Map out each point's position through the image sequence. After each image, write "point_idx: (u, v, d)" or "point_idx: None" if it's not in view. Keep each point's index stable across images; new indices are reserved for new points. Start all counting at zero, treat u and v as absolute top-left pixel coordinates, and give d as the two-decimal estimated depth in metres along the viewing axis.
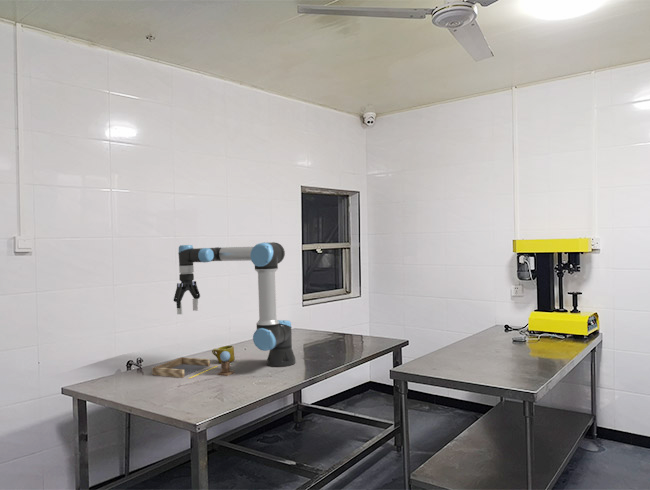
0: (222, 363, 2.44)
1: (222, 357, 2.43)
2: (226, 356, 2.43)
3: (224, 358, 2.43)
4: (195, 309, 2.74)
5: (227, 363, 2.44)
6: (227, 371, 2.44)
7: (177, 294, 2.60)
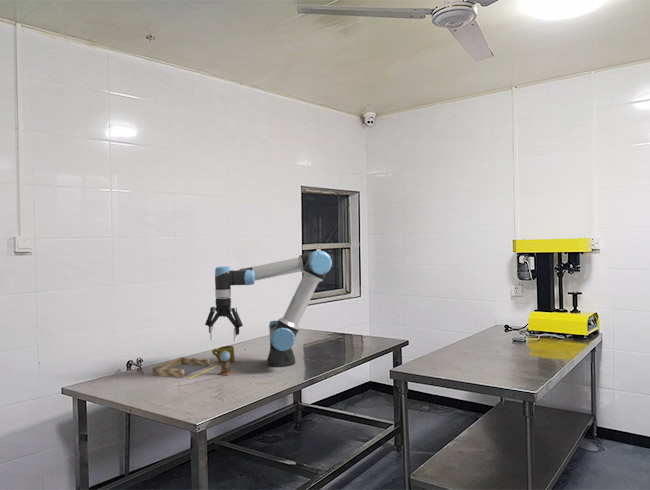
0: (222, 363, 2.44)
1: (222, 357, 2.43)
2: (226, 356, 2.43)
3: (224, 358, 2.43)
4: None
5: (227, 363, 2.44)
6: (227, 371, 2.44)
7: None
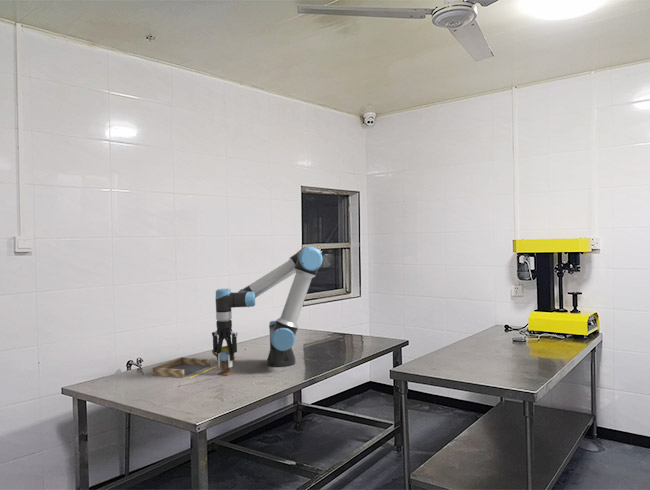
0: (222, 363, 2.44)
1: (222, 357, 2.43)
2: (226, 356, 2.43)
3: (224, 358, 2.43)
4: None
5: (227, 363, 2.44)
6: (227, 371, 2.44)
7: None
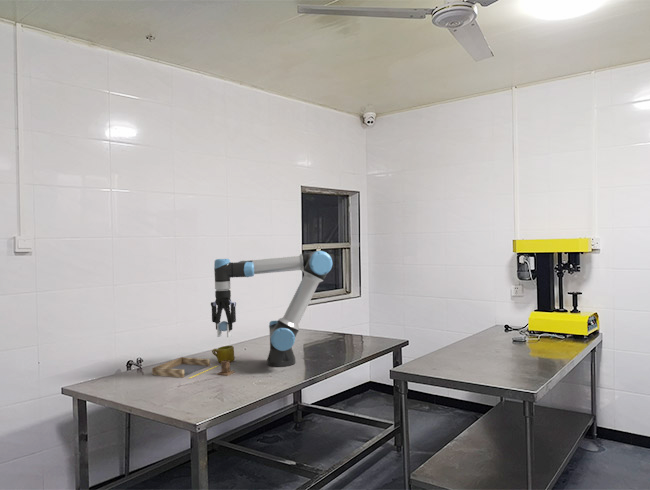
0: (222, 363, 2.44)
1: (221, 327, 2.43)
2: (225, 326, 2.43)
3: (223, 328, 2.43)
4: None
5: (227, 363, 2.44)
6: (227, 371, 2.44)
7: None
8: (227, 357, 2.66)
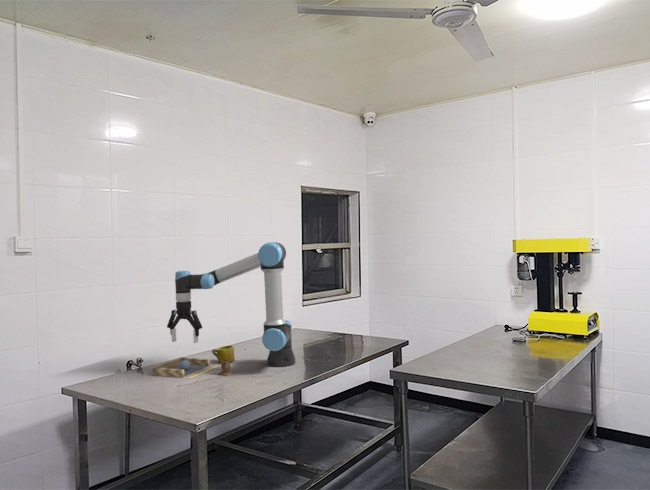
0: (222, 363, 2.44)
1: (182, 366, 2.52)
2: (185, 364, 2.52)
3: (184, 366, 2.52)
4: None
5: (227, 363, 2.44)
6: (227, 371, 2.44)
7: None
8: (227, 357, 2.66)
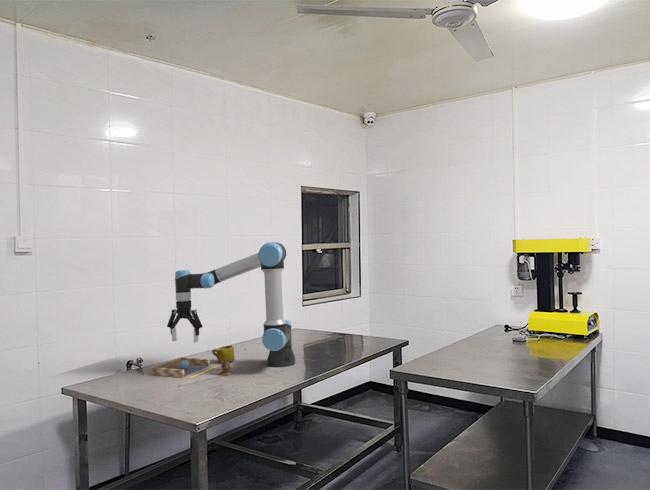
0: (222, 363, 2.44)
1: (181, 366, 2.52)
2: (184, 363, 2.52)
3: (183, 366, 2.52)
4: None
5: (227, 363, 2.44)
6: (227, 371, 2.44)
7: None
8: (227, 357, 2.66)
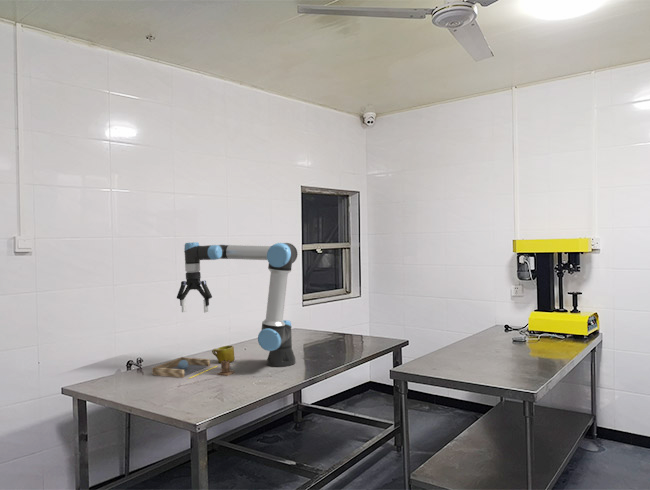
0: (222, 363, 2.44)
1: (180, 366, 2.52)
2: (183, 363, 2.53)
3: (182, 365, 2.52)
4: None
5: (227, 363, 2.44)
6: (227, 371, 2.44)
7: None
8: (227, 357, 2.66)
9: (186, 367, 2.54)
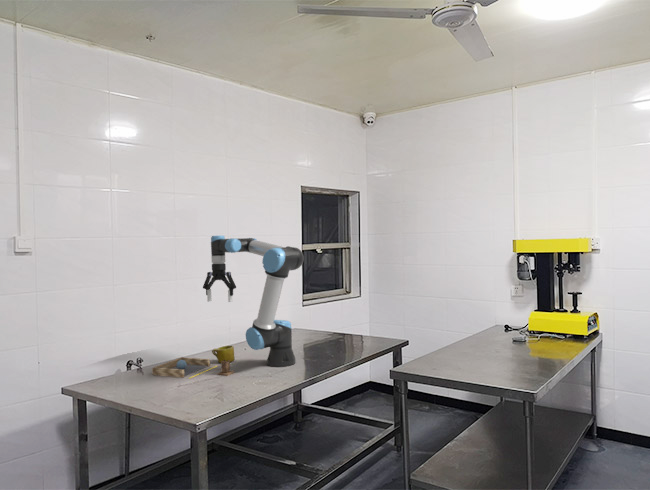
0: (222, 363, 2.44)
1: (178, 365, 2.53)
2: (180, 362, 2.53)
3: (180, 364, 2.53)
4: None
5: (227, 363, 2.44)
6: (227, 371, 2.44)
7: None
8: (227, 357, 2.66)
9: (185, 365, 2.54)
